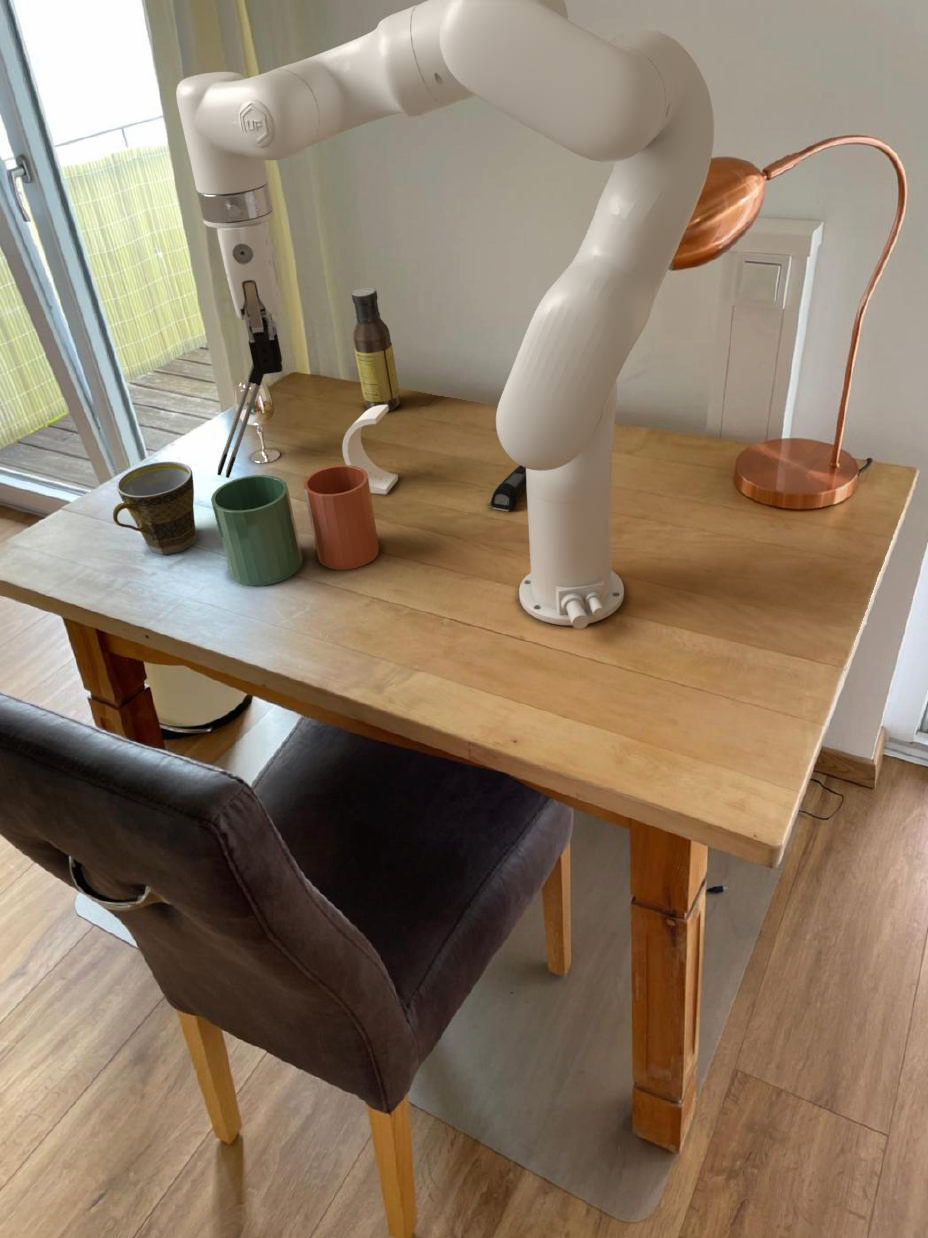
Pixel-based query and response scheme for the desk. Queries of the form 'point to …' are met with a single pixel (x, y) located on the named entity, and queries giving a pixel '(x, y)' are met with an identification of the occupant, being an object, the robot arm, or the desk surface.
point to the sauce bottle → (374, 352)
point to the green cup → (257, 529)
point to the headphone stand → (357, 456)
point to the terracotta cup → (342, 516)
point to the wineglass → (258, 416)
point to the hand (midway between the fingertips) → (268, 367)
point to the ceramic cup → (160, 505)
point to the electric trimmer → (509, 490)
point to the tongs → (251, 379)
